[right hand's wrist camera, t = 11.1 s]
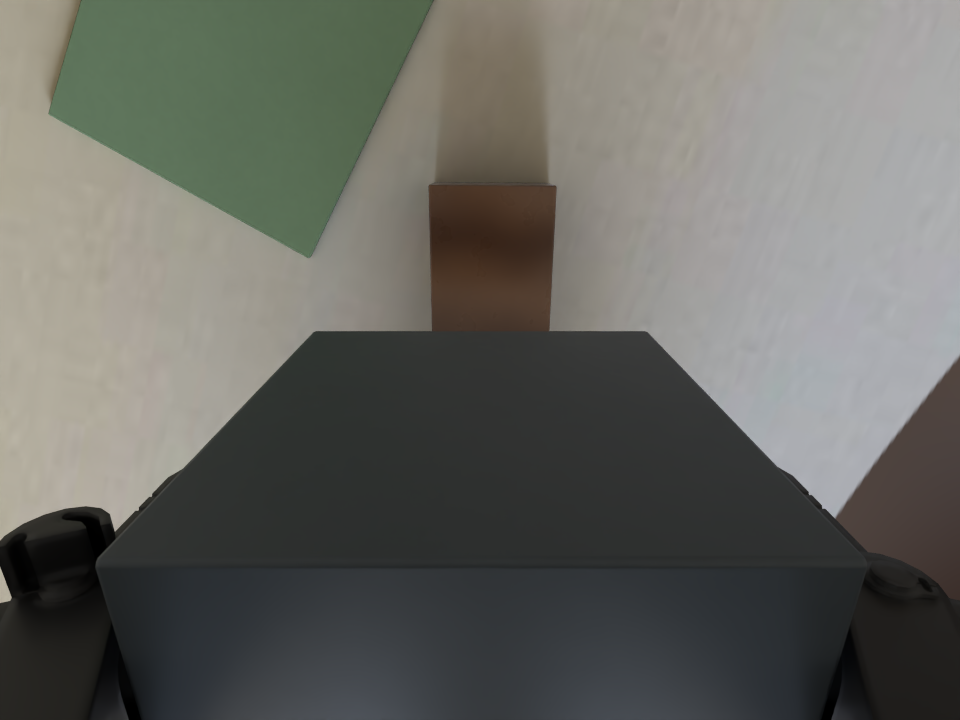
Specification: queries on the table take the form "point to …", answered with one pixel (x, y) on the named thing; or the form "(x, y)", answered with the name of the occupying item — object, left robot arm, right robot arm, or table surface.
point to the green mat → (239, 96)
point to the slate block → (481, 545)
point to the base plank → (491, 255)
